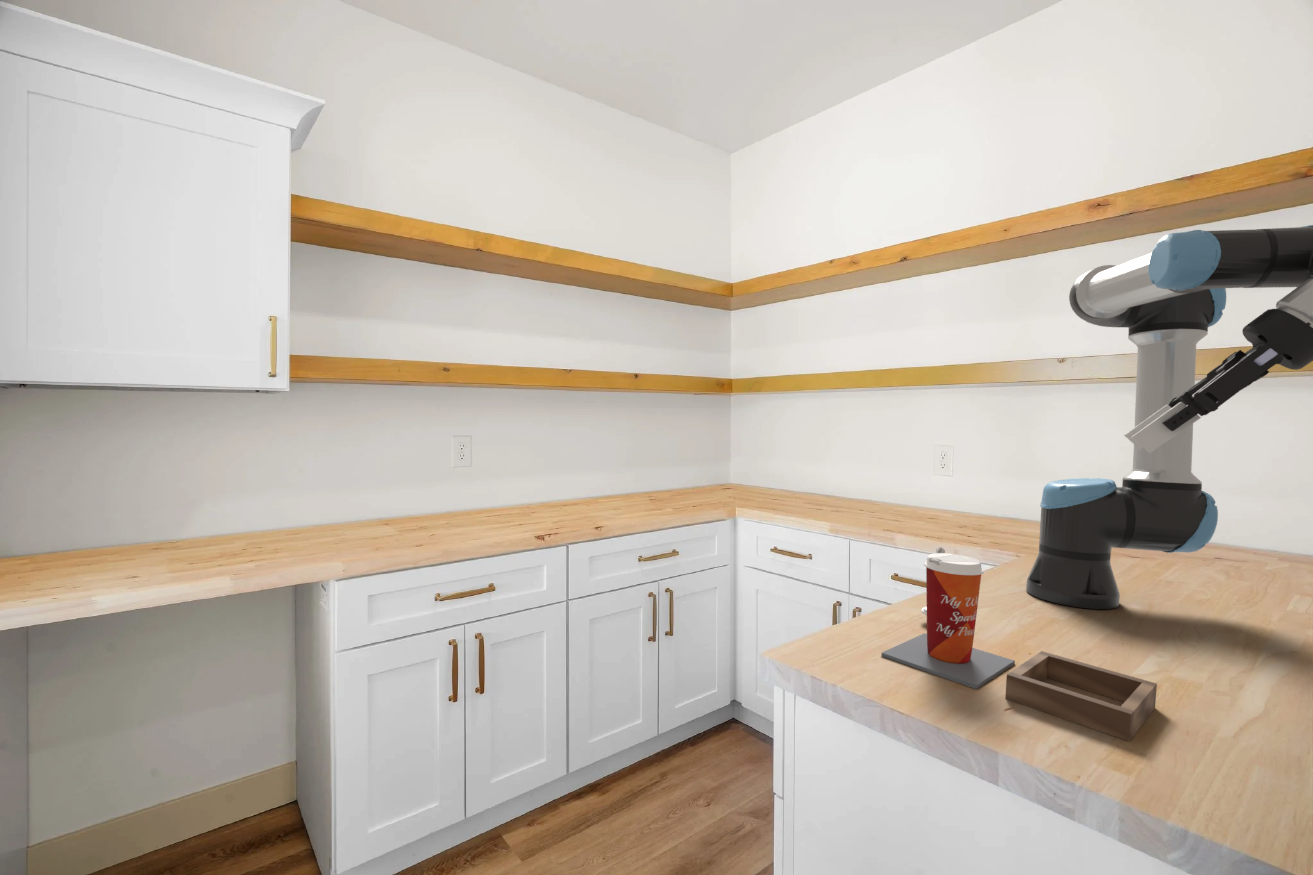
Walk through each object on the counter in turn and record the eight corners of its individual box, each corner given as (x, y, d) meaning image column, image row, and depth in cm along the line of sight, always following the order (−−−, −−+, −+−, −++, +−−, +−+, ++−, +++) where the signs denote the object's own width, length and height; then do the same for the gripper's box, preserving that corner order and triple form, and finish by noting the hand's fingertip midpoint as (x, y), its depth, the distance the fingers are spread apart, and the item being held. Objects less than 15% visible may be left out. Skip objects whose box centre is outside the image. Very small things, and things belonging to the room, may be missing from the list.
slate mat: (924, 636, 96) (924, 633, 96) (1014, 663, 87) (1014, 660, 87) (881, 655, 88) (881, 652, 88) (976, 689, 78) (976, 685, 78)
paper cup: (945, 669, 83) (950, 566, 82) (907, 647, 90) (912, 553, 90) (992, 664, 85) (998, 564, 84) (952, 643, 92) (957, 551, 92)
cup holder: (1040, 672, 84) (1041, 651, 84) (1155, 707, 75) (1156, 683, 74) (1005, 698, 76) (1006, 674, 76) (1129, 741, 66) (1131, 714, 66)
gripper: (1373, 335, 62) (1172, 470, 72) (1299, 357, 83) (1150, 459, 92) (1303, 287, 65) (1118, 423, 74) (1248, 320, 86) (1108, 423, 95)
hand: (1135, 443), depth 83 cm, fingers open, 13 cm apart
